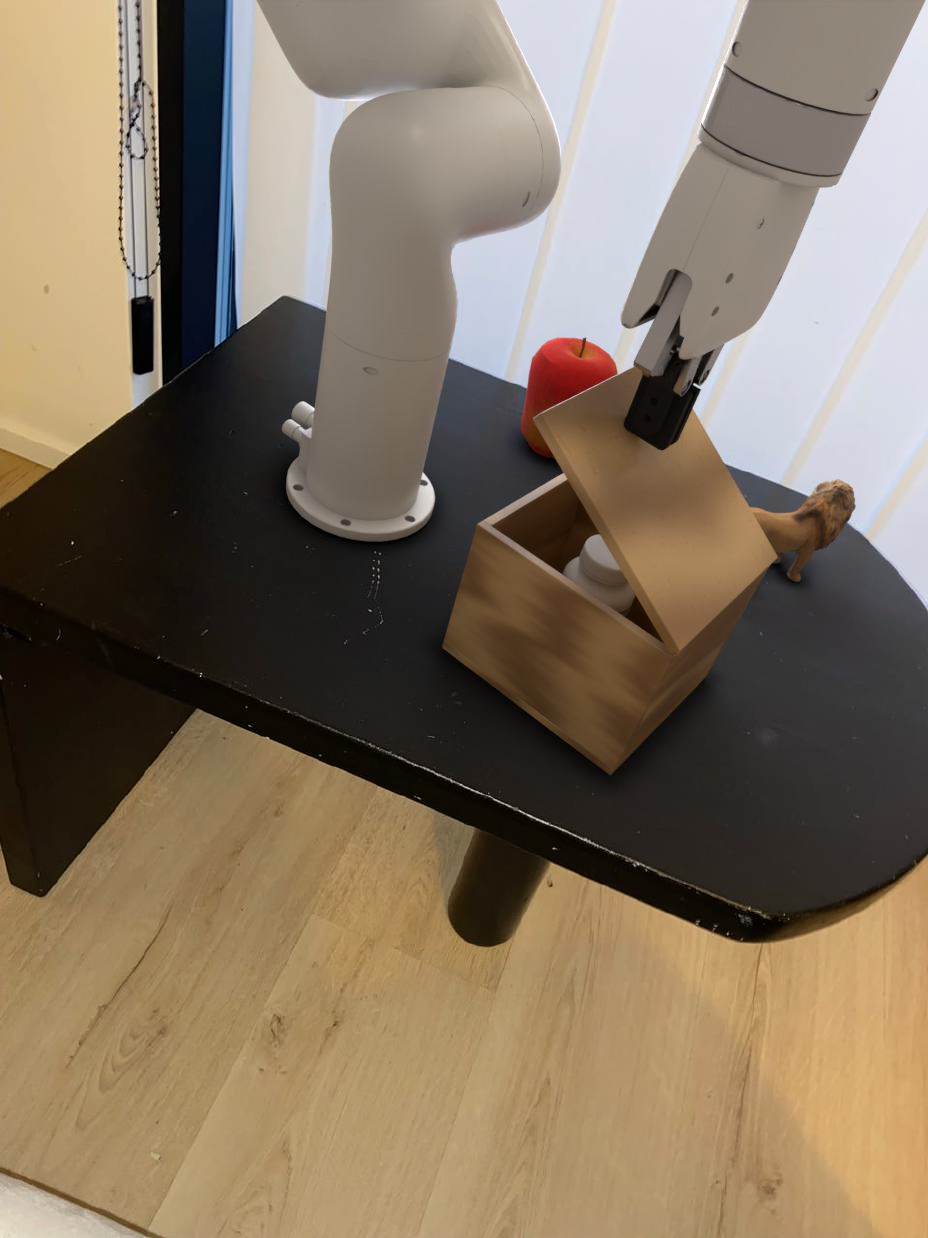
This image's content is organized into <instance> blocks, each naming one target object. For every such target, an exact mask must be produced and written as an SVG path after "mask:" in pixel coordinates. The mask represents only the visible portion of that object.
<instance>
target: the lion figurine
mask: <svg viewBox="0 0 928 1238" xmlns="http://www.w3.org/2000/svg"><path fill="white" fill-rule="evenodd" d="M749 507H750V506H749ZM750 509H751V511H752V513H753V514H754V516H755V518H756V520H757V521H758V523H759V525H760V527H761V528H762V530H763V532H764V534H765V535H766V537H767V539H768V541H769V542H770V544H771V546H772V547H773V549H774V551H775V553H776V554H777V556H778V558H777V559H776V560H775V561H774V562H773V563H772V564H779V563H780V562H782V556H783V553H788V552H793V551H795V554H796V556H795V559H794V561H793V562H792V564H791V565H790V566H789V567H788V570H787V574H786V575H787V578H788V579H789V580H791V581H793V582H794V583H798V582H800V581H801V578H802V577H801V573H800V571H801V570H802V569H803V568H804V567H805V566H806V565H807V564H808V563H809V562H810V560H811V559H812V557H813V555H814V552H816V551H819V550H824V549H827V548H828V547H829V546H830V545H831V544H832V543H834V541H836V540H837V537H838V536H839V535H840V533H842V532H843V530H844V529H845V527H846V524H847V523H848V522H849V521H850V520H851V518H852V514H853V513H854V511H855V509H856V498H855V491H854V487H852V486H851V484H849V483H848V482H845V481H843V480H841V479H839V478H836V479H834V480H833V479H832V480H831V481H827V480H826V481H823V482H820V483H818V484H817V486H816V487H815V488H814V489H813V491H812V492H811V494H810V495H809V496H808V497H807V498H806V500H805V501H804V503H802V504H801V505H800V507H799V508H797V510H795V511H790V512H771V511H768V510H765V509H763V508H759V507H752V506H751V507H750Z"/></svg>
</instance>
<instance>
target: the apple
mask: <svg viewBox="0 0 928 1238" xmlns="http://www.w3.org/2000/svg"><path fill="white" fill-rule="evenodd" d="M617 374H619V373H618V368H617V364H616V362H615V360H614V358H612V355H610V354H609V353H608V352H607V351H605V350H604V349H603V348H602V347H600V346H598V345H597V344H595V343H593V342H591V341H588V340H587V337H582V338H577V337H559V336H558V337H555V338H552V339H549V340H547V341H546V342H544V343H543V344H542V345H541V346H540V347H539V349H538V350H537V351H536V352H535V354H534V355H533V356H532V357H531V362H530V366H529V371H528V378H527V386H526V393H525V400H524V405H523V411H522V415H521V416H522V417H521V420H520V421H521V422H520V431H521V433H522V435H523V437H524V439H525V441H526V442H527V444H528V446H529V448H530V450H532V451H533V452H535V454H537V455H540V456H543V457H545V458H550V459H555V457H554V455H553V454H552V452H551V450H550V449H549V447H548V445H547V443H546V442H545V440H544V438H543V437H542V435H541V433H540V432H539V430H538V428H537V426H536V425H535V423H534V421H533V418H534V417H536V416H537V415H538V414H540V413H542V412H544V411H546V410H548V409H550V408H552V407H554V406H556V405H558V404H560V403H562V402H564V401H566V400H568V399H570V398H571V397H573V396H575V395H577V394H579V393H581V392H583V391H585V390H587V389H589V388H591V387H593V386H595V385H597V384H599V383H601V382H603V381H605V380H607V379H609V378H611V377H613V376H615V375H617Z"/></svg>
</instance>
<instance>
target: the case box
mask: <svg viewBox="0 0 928 1238" xmlns="http://www.w3.org/2000/svg"><path fill="white" fill-rule="evenodd" d="M594 535H599V532H598V530H597V528H596V527H595V525H594V523H593V522H592V520H591V518H590V517H589V515H588V513H587V511H586V510H585V508H584V506H583V505H582V503H581V501H580V500H579V498H578V496H577V494H576V493H575V491H574V489H573V488H572V486H571V484H570V483H569V481H568V479H567V477H566V476H565V474H564V472H563V473H561V474H560V475H557V476H556V477H554V478H552V479H551V480H549V481H547V482H546V483H544V484H542V485H540V486H539V487H537V488H536V489H534V490H532V491H531V492H529V493H527V494H525V495H524V496H522V497H520V498H519V499H517V500H515V501H514V502H512V503H510V504H509V505H507V506H505V507H504V508H501V509H500V510H499V511H497V512H495V513H494V514H492V515H490V516H488V517H487V518H485V519H483V520H481V521H480V522H478V523H477V524H476V527H475V530H474V534H473V537H472V541H471V544H470V548H469V551H468V555H467V559H466V562H465V565H464V568H463V571H462V575H461V578H460V582H459V586H458V590H457V593H456V596H455V600H454V604H453V607H452V611H451V614H450V617H449V621H448V624H447V628H446V631H445V635H444V639H443V642H442V645H441V649H443V650H444V651H446V652H447V653H448V654H449V655H450V656H452V657H454V658H455V659H456V660H457V661H458V662H460V663H461V664H463V665H464V666H465V667H467V668H468V669H469V670H470V671H472V672H473V673H475V674H476V675H477V676H478V677H480V678H481V679H482V680H483V681H485V682H486V683H488V684H489V685H490V686H491V687H493V688H494V689H496V690H497V691H498V692H500V693H501V694H502V695H503V696H505V697H506V698H507V699H509V700H510V701H511V702H513V703H514V704H515V705H516V706H518V707H519V708H520V709H522V710H523V711H524V712H526V713H527V714H528V715H530V716H531V717H532V718H534V719H535V720H536V721H538V723H540V724H542V725H543V726H544V727H546V728H547V729H548V730H549V731H550V732H552V733H553V734H555V735H556V736H558V738H560V739H561V740H563V741H564V742H565V743H567V744H568V745H569V746H571V747H572V748H573V749H574V750H576V751H577V752H578V753H580V754H581V755H582V756H584V757H585V759H587V760H589V761H590V762H592V763H593V764H594V765H596V766H597V767H598V768H600V769H601V770H602V771H603V772H605V773H606V774H607V775H608V776H612V775H613V774H614V772H616V770H618V769H619V768H620V767H621V765H623V763H624V762H625V761H626V760H627V759H628V758H630V756H631V755H632V754H633V753H634V752H635V751H636V750H637V749H638V748H639V747H640V746H641V745H642V744H643V743H644V741H646V740H647V739H648V737H650V736H651V734H652V733H653V732H654V731H655V730H656V729H657V728H658V727H660V725H661V724H662V723H663V722H664V721H665V720H666V719H668V717H669V716H670V715H671V714H672V713H673V712H674V711H675V710H676V709H677V708H678V706H680V705H681V704H682V702H684V700H685V699H686V698H687V697H688V696H689V695H690V694H691V693H692V692H693V691H694V690H695V689H696V688H697V687H698V686H699V685H700V684H701V683H702V682H703V681H704V679H706V678H707V676H708V674H709V672H710V670H711V669H712V668H713V666H714V664H715V663H716V661H717V659H718V657H719V655H720V653H721V652H722V650H723V648H724V646H725V645H726V643H727V642H728V640H729V638H730V636H731V635H732V633H733V631H734V629H735V627H736V626H737V624H738V622H739V621H740V619H741V617H742V615H743V614H744V612H745V610H746V609H747V607H748V605H749V603H750V601H751V600H752V598H753V596H754V595H755V592H756V591H757V589H758V587H759V586H760V584H761V582H762V580H763V579H764V577H765V575H766V573H767V572H768V570H769V569H770V566H771V565H769V566H768V567H767V568H766V569H765V570H764V571H763V572H762V573H761V574H760V575H759V576H758V577H757V578H756V579H755V580H754V581H753V582H752V583H751V584H750V585H749V586H748V587H746V588H745V589H744V590H743V591H742V592H741V593H740V594H739V595H738V596H737V597H736V598H735V599H734V600H733V601H732V602H731V603H730V604H729V605H728V606H727V607H726V608H724V609H723V610H722V611H721V612H720V613H719V614H718V615H717V616H716V617H715V618H714V619H713V620H712V621H711V622H710V623H709V624H708V625H707V626H706V627H705V628H704V629H703V630H701V631H700V632H699V633H698V634H697V635H696V636H695V637H694V638H693V639H692V640H691V641H690V642H689V643H688V644H687V645H686V646H685V647H684V648H683V649H682V650H681V651H679V652H676V653H673V654H670V653H669V651H668V649H667V648H666V646H665V644H664V642H663V641H662V639H661V637H660V636H659V634H658V632H657V631H656V629H655V627H654V625H653V624H652V622H651V620H650V619H649V617H648V615H647V614H646V612H645V610H644V608H643V607H642V605H641V603H640V602H639V600H638V598H637V597H636V595H635V598H634V600H633V603H632V606H631V608H630V610H629V612H628V614H627V616H626V618H625V617H624V616H622V615H621V614H619V613H618V612H616V611H615V610H614V609H612V608H611V607H609V606H608V605H606V604H605V603H603V602H602V601H600V600H599V599H597V598H596V597H594V596H593V595H592V594H590V593H589V592H587V591H586V590H584V589H583V588H581V587H580V586H578V585H577V584H575V583H574V582H573V581H571V580H570V579H568V578H567V577H565V576H564V575H562V574H563V571H564V569H565V567H566V565H567V564H568V563H569V562H570V561H571V560H573V559H574V558H577V557H579V556H580V553H581V551H582V549H583V547H584V544H585V542H586V541H587V539H588V538H590V537H591V536H594Z"/></svg>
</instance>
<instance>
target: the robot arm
mask: <svg viewBox="0 0 928 1238" xmlns="http://www.w3.org/2000/svg"><path fill="white" fill-rule="evenodd" d="M256 3H257V4H258V6H259V8H260V10H261V12H262V14H263V16H264V18H265V20H266V22H267V24H268V26H269V28H270V30H271V31H272V33H273V35H274V37H275V39H276V42H277V43H278V45H279V47H280V49H281V51H282V53H283V55H284V57H285V59H286V60H287V62H288V64H289V65H290V67H291V69H292V70H293V72H294V74H295V75H296V76H297V78H298V79H299V80H300V81H301V83H302V84H303V85H304V86H305V88H306V89H308V90H309V91H310V92H312V93H313V94H315V95H317V96H318V97H321V98H324V99H328V100H332V101H341V102H360V101H365V102H364V103H362V104H361V105H359V106H357V107H356V108H355V109H354V110H352V111H351V112H350V113H349V115H348V116H347V117H346V118H345V119H344V120H343V121H342V123H341V125H339V127H338V129H337V131H336V133H335V135H334V138H333V140H332V144H331V148H330V153H329V159H328V161H329V162H328V189H329V199H330V200H329V201H330V214H331V215H330V216H331V263H330V275H329V286H328V294H327V302H326V310H325V323H324V329H323V330H324V331H323V339H322V344H321V345H322V346H321V354H320V361H319V369H318V378H317V386H316V394H315V401H314V407H313V406H312V405H310V404H309V403H307V402H306V401H303V400H302V401H299V402H298V403H297V404H295V406H294V408H293V409H292V412H291V419H287V420H285V421H284V423H283V424H282V426H281V432H282V433H283V434H284V435H286V436H287V437H288V438H290V439H291V440H292V441H294V442H295V441H296V442H297V443H298V447H299V453H298V457H296V458H295V459H294V460H293V461H292V462H291V464H290V466H289V468H288V470H287V475H286V480H285V491H286V495H287V498H288V501H289V502H290V504H291V506H292V508H293V509H294V510H295V511H296V512H297V513H298V514H299V515H300V516H301V517H302V518H303V519H305V520H306V521H307V522H308V523H310V524H311V525H313V526H315V527H317V528H318V529H320V530H322V531H324V532H326V533H329V534H332V535H334V536H336V537H340V538H345V539H349V540H352V541H360V542H388V541H395V540H399V539H402V538H406V537H408V536H411V535H413V534H414V533H417V532H419V531H420V530H421V529H422V528H423V527H425V526H426V525H427V523H428V522H429V520H430V519H431V517H432V514H433V511H434V507H435V503H436V494H435V489H434V486H433V483H432V482H431V480H430V479H429V478H428V476H427V475H426V474H425V473H424V469H425V468H424V467H425V464H426V460H427V455H428V451H429V448H430V447H429V446H430V442H431V438H432V434H433V429H434V426H435V421H436V416H437V412H438V408H439V407H438V406H439V403H440V400H441V399H440V398H441V394H442V390H443V385H444V381H445V376H446V373H447V368H448V363H449V358H450V354H451V350H452V346H453V340H454V337H455V331H456V325H457V321H458V313H459V295H458V290H457V285H456V280H455V277H454V273H453V267H452V253H453V250H454V248H455V247H456V246H457V245H458V244H462V243H465V242H470V241H472V240H475V239H478V238H483V237H487V236H492V235H497V234H501V233H504V232H508V231H513V230H515V229H518V228H521V227H523V226H526V225H528V224H530V223H531V222H533V221H535V220H536V219H538V218H539V217H540V216H541V215H542V214H543V213H544V212H545V211H546V210H547V209H548V207H549V206H550V204H551V203H552V202H553V200H554V197H555V196H556V193H557V190H558V188H559V185H560V180H561V176H562V148H561V142H560V136H559V132H558V129H557V126H556V122H555V119H554V117H553V114H552V111H551V109H550V107H549V104H548V103H547V101H546V98H545V96H544V94H543V92H542V90H541V88H540V85H539V84H538V81H537V80H536V77H535V75H534V74H533V73H534V72H533V71H532V69H531V67H530V65H529V63H528V61H527V58H526V56H525V55H524V53H523V51H522V48H521V47H520V45H519V42H518V41H517V39H516V37H515V33H514V32H513V30H512V28H511V25H510V24H509V22H508V20H507V18H506V15H505V14H504V12H503V9H502V7H501V6H500V3H499V2H498V0H256ZM925 3H926V0H745V3H744V5H743V7H742V10H741V12H740V17H739V18H738V21H737V24H736V27H735V30H734V32H733V35H732V37H731V41H730V43H729V45H728V49H727V52H726V53H725V57H724V59H723V62H722V65H721V67H720V69H719V72H718V74H717V78H716V81H715V84H714V86H713V88H712V92H711V94H710V97H709V100H708V103H707V105H706V108H705V111H704V113H703V116H702V119H701V122H700V123H699V127H698V129H697V132H696V136H697V138H698V141H700V143H698V144H697V145H696V146H695V148H694V149H693V151H692V153H691V154H690V157H689V158H688V160H687V162H686V164H685V165H684V168H683V169H682V172H681V173H680V175H679V177H678V179H677V181H676V183H675V184H674V186H673V189H672V190H671V193H670V195H669V196H668V199H667V200H666V204H665V205H664V208H663V209H662V212H661V213H660V216H659V219H658V220H657V223H656V226H655V228H654V230H653V233H652V235H651V237H650V239H649V241H648V244H647V246H646V249H645V251H644V254H643V256H642V258H641V261H640V263H639V265H638V268H637V270H636V273H635V276H634V278H633V281H632V283H631V286H630V288H629V291H628V293H627V296H626V298H625V301H624V303H623V306H622V309H621V312H620V323H621V325H622V327H623V328H625V329H628V330H631V329H634V328H637V327H639V326H642V325H645V324H646V323H649V322H651V321H652V323H651V324H650V327H649V328H648V331H647V333H646V336H645V337H644V339H643V341H642V343H641V345H640V347H639V350H638V352H637V354H636V356H635V358H634V360H633V366H635V367H637V368H638V369H640V370H642V375H643V376H642V378H641V381H640V383H639V386H638V388H637V391H636V393H635V396H634V398H633V401H632V403H631V406H630V408H629V411H628V413H627V416H626V418H625V421H624V427H625V429H626V430H627V431H629V432H631V433H632V434H634V435H636V436H637V437H639V438H641V439H642V440H644V441H645V442H647V443H649V444H650V445H652V446H654V447H655V448H657V449H659V450H665V449H666V448H668V447H669V446H670V445H673V444H674V443H676V442H677V441H678V440H679V438H680V435H681V433H682V431H683V429H684V426H685V424H686V422H687V420H688V418H689V415H690V413H691V411H692V409H693V410H694V406H695V404H696V402H697V400H698V398H699V395H700V393H701V391H702V389H701V388H700V387H701V386H702V385H704V383H705V382H706V380H708V378H709V375H710V374H711V372H712V370H713V367H714V366H715V363H716V362H717V360H718V357H719V355H720V354H721V352H722V350H723V347H724V346H725V344H727V343H729V342H730V341H733V340H734V339H736V338H738V337H739V336H741V335H742V334H744V333H746V332H747V331H749V330H750V329H752V328H753V327H754V326H755V325H756V324H757V323H758V322H759V321H760V319H761V318H762V316H763V315H764V313H765V312H766V310H767V308H768V306H769V304H770V302H771V301H772V299H773V297H774V294H775V293H776V291H777V289H778V286H779V285H780V283H781V281H782V279H783V276H784V274H785V272H786V269H787V268H788V266H789V263H790V261H791V258H792V256H793V254H794V251H795V249H796V247H797V245H798V243H799V240H800V238H801V236H802V233H803V231H804V228H805V226H806V224H807V221H808V219H809V216H810V214H811V212H812V209H813V206H814V205H815V202H816V199H817V196H818V193H819V192H820V189H821V188H822V189H823V188H824V189H825V188H832V187H833V186H837V185H838V184H839V182H840V180H841V178H842V176H843V174H844V172H845V169H846V167H847V165H848V163H849V161H850V159H851V157H852V155H853V153H854V151H855V148H856V146H857V144H858V142H859V140H860V138H861V137H862V134H863V132H864V130H865V128H866V126H867V124H868V121H869V119H870V117H871V115H872V112H873V110H874V108H875V106H876V104H877V102H878V100H879V98H880V96H881V94H882V92H883V90H884V88H885V86H886V84H887V81H888V80H889V77H890V76H891V73H892V71H893V69H894V67H895V65H896V63H897V61H898V59H899V56H900V55H901V52H902V51H903V48H904V46H905V44H906V42H907V41H908V38H909V36H910V35H911V31H912V30H913V27H914V26H915V24H916V21H917V19H918V17H919V15H920V13H921V11H922V10H923V7H924V4H925ZM694 384H695V385H694ZM696 385H697V386H698V387H697V386H696Z"/></svg>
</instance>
